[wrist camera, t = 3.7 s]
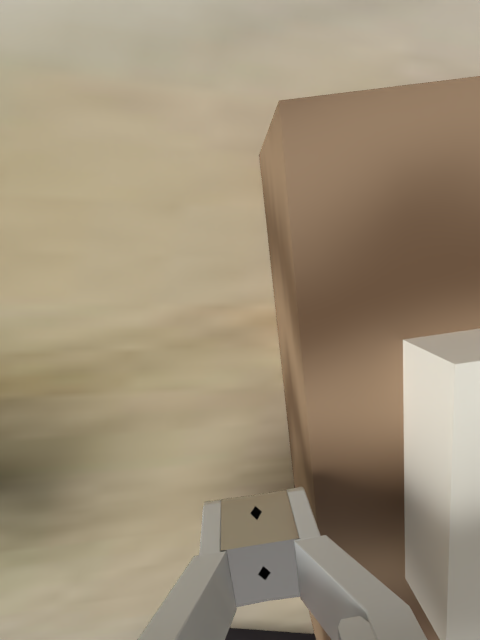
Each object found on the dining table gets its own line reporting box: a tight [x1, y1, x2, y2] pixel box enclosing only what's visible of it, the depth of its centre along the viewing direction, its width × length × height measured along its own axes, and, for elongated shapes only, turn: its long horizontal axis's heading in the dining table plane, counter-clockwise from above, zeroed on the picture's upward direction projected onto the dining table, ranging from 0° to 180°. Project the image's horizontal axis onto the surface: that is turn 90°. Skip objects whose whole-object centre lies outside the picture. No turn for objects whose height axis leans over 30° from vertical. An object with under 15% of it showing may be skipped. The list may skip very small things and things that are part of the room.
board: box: [259, 76, 480, 640], centre depth 12 cm, size 22×14×4 cm, turn 8°
